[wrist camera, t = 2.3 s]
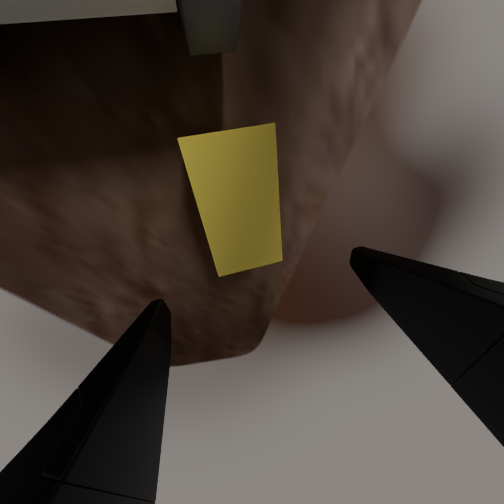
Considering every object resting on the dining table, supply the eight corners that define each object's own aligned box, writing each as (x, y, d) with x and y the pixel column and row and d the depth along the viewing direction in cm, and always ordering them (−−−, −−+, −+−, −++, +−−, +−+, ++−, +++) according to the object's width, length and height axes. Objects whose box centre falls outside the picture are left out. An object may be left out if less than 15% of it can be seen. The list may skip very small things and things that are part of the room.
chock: (250, 127, 13) (275, 122, 9) (262, 230, 17) (282, 260, 13) (184, 137, 12) (177, 138, 8) (213, 242, 17) (218, 277, 13)
